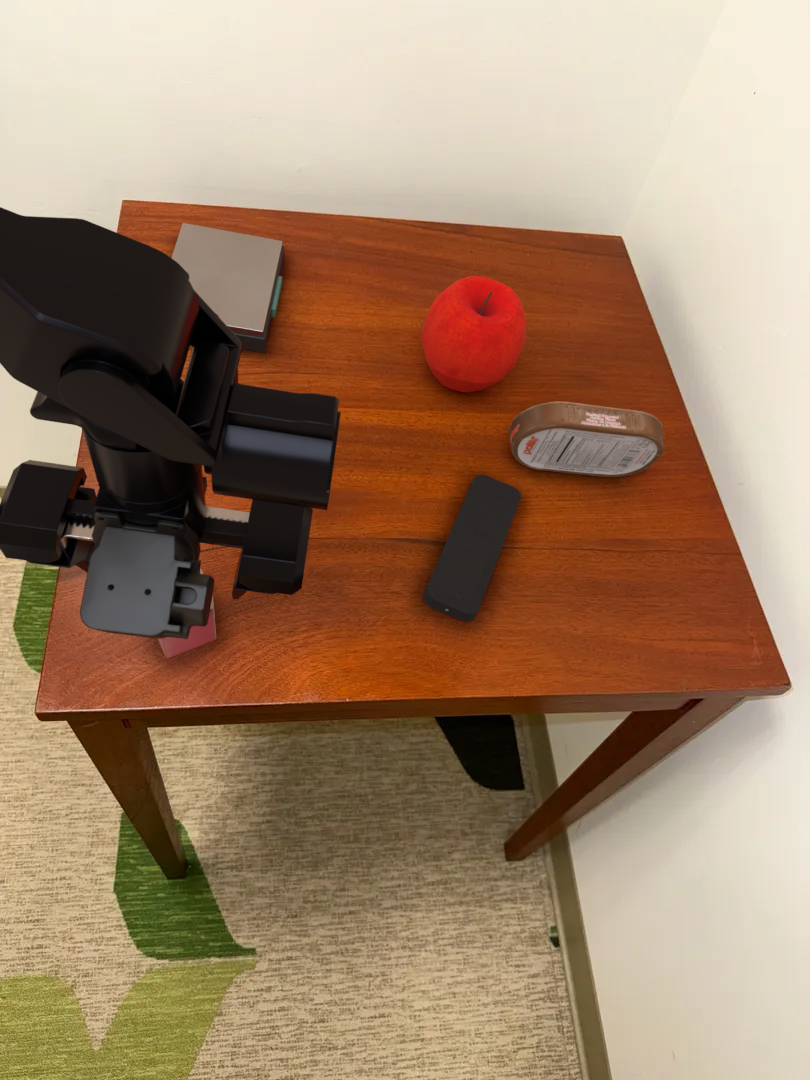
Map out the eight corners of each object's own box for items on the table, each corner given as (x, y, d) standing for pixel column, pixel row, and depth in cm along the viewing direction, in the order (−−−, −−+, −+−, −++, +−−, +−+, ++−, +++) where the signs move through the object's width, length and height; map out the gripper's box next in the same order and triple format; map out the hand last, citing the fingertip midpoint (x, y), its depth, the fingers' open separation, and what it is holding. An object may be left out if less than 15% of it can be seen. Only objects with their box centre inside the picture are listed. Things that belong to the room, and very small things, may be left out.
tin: (639, 461, 79) (677, 409, 72) (643, 487, 77) (684, 436, 70) (497, 446, 77) (523, 391, 69) (499, 472, 75) (526, 418, 68)
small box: (144, 607, 62) (131, 561, 55) (196, 588, 64) (189, 541, 57) (166, 661, 60) (155, 620, 53) (218, 640, 62) (214, 598, 55)
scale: (153, 335, 76) (150, 314, 74) (183, 242, 83) (181, 220, 81) (268, 354, 78) (269, 334, 75) (287, 261, 85) (288, 240, 82)
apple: (421, 419, 77) (447, 331, 66) (402, 346, 81) (424, 252, 71) (513, 415, 79) (553, 329, 69) (490, 344, 84) (524, 253, 73)
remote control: (472, 480, 75) (419, 603, 66) (477, 469, 73) (423, 593, 65) (518, 500, 74) (472, 625, 66) (524, 489, 73) (477, 616, 65)
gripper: (-86, 564, 37) (2, 674, 51) (296, 613, 40) (285, 706, 53) (-9, 391, 43) (52, 531, 56) (321, 442, 45) (305, 565, 59)
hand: (172, 585), depth 56 cm, fingers open, 9 cm apart
